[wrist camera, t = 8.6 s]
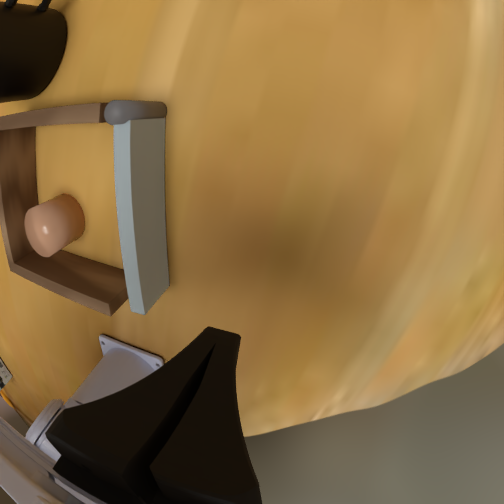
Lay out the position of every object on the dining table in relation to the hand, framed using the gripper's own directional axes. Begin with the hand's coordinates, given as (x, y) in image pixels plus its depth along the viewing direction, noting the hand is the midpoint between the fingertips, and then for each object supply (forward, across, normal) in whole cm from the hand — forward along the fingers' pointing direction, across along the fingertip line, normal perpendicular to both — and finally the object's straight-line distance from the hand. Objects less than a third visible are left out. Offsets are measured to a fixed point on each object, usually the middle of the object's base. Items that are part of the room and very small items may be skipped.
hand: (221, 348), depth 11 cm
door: (+10, +8, -2) cm, 13 cm away
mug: (+10, +23, -16) cm, 30 cm away
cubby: (+10, +17, -2) cm, 20 cm away
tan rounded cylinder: (+10, +18, +1) cm, 21 cm away
